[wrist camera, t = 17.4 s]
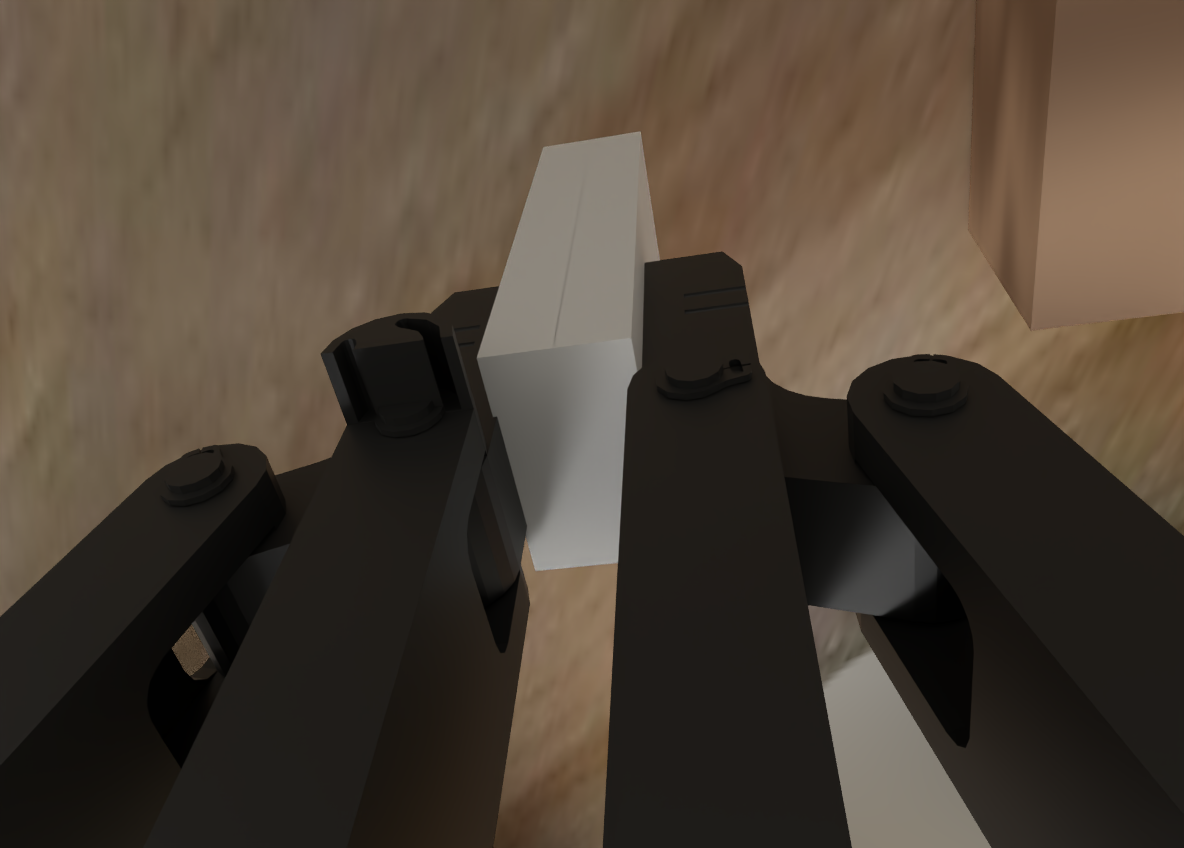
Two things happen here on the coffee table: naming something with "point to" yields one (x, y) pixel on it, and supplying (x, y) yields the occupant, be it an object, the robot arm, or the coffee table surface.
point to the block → (1080, 156)
